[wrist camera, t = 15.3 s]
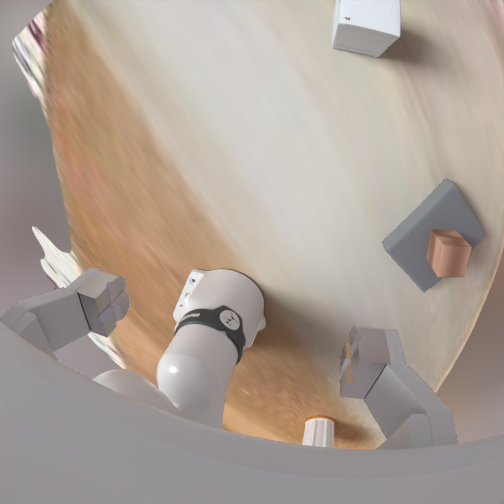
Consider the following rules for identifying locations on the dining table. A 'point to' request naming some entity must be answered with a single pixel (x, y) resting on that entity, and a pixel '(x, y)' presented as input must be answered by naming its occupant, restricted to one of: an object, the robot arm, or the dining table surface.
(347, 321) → the dining table surface
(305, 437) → the cup
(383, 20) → the supplement box
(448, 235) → the terracotta block
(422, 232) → the plinth
